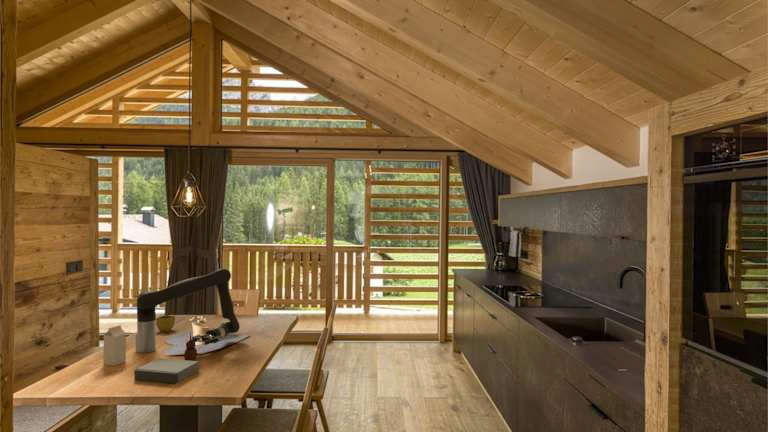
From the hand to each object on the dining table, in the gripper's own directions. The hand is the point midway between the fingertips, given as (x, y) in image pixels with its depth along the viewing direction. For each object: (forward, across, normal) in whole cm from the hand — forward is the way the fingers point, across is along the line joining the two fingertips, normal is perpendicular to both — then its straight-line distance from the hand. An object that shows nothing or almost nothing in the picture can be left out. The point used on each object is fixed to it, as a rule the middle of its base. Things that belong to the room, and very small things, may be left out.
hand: (198, 342), depth 248 cm
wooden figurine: (+7, 0, +9) cm, 11 cm away
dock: (+26, +1, +8) cm, 27 cm away
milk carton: (+17, -37, +9) cm, 42 cm away
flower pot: (-45, -54, +9) cm, 71 cm away
